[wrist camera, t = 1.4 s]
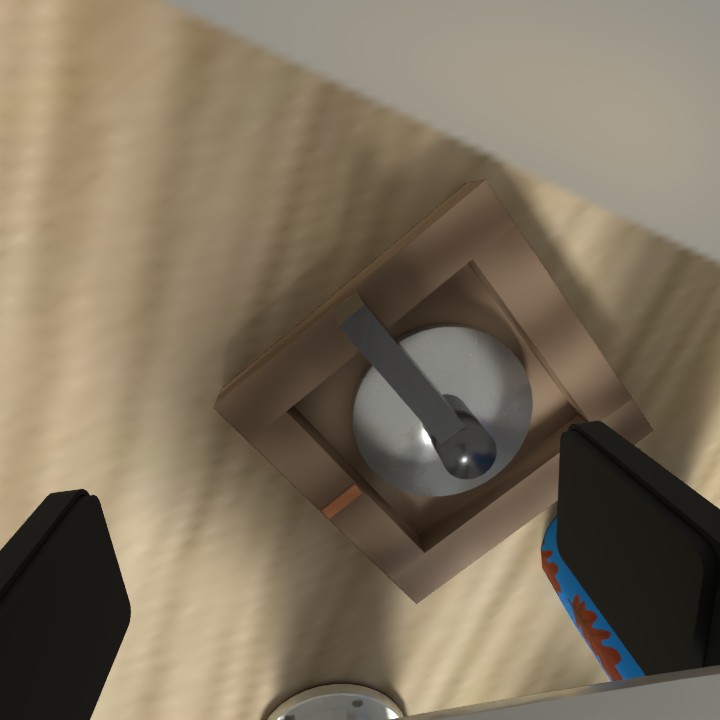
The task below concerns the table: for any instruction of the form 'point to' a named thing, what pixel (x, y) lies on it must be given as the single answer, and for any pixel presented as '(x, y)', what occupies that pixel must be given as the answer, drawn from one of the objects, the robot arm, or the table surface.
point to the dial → (435, 402)
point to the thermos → (586, 614)
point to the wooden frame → (399, 314)
